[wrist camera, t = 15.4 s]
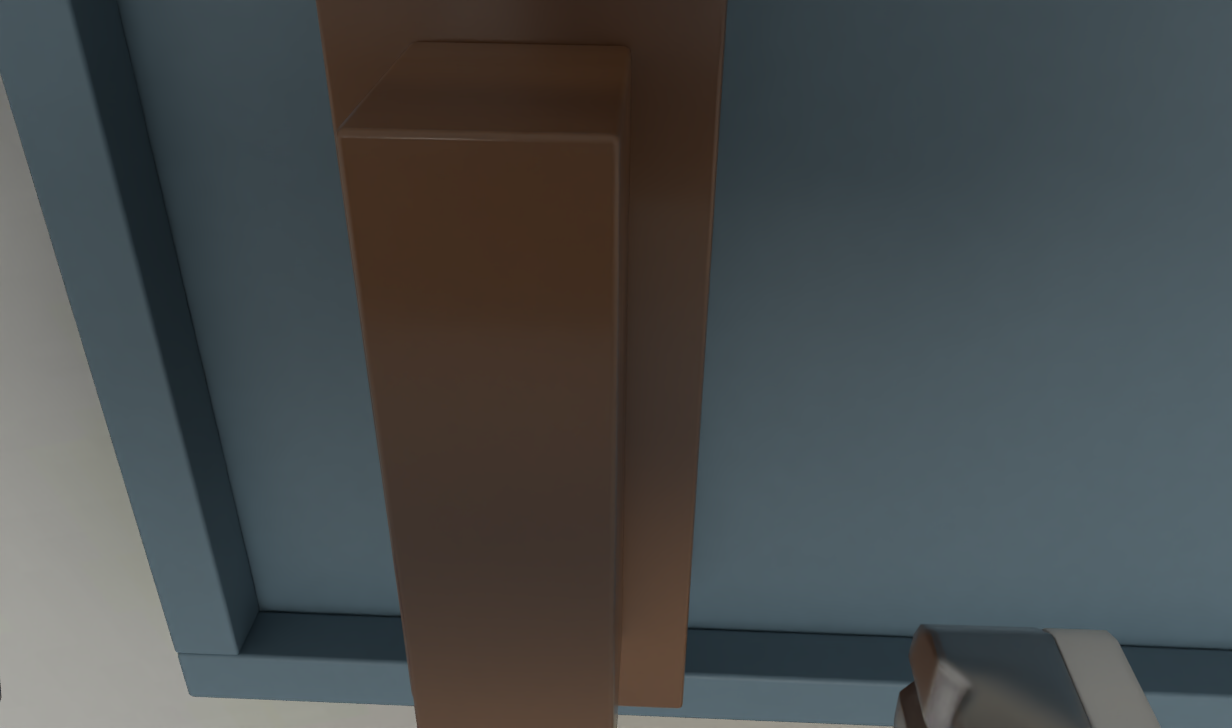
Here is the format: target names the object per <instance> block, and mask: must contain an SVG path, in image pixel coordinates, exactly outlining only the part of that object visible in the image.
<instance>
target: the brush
mask: <svg viewBox="0 0 1232 728" xmlns="http://www.w3.org/2000/svg"><path fill="white" fill-rule="evenodd" d="M315 1H316V8H317V15H318V23H319V30H320V37H321V44H322V51H323V59H324V66H325V73H326V80H327V87H328V95H329V102H330V109H331V116H332V124H333V131H334V138H335V145H336V152H337V160H338V167H339V174H340V181H341V188H342V196H343V203H344V210H345V217H346V224H347V232H348V239H349V246H350V253H351V261H352V268H353V275H354V282H355V289H356V297H357V304H358V311H359V318H360V325H361V333H362V340H363V347H364V354H365V361H366V369H367V376H368V383H369V390H370V397H371V405H372V412H373V419H374V426H375V434H376V441H377V448H378V455H379V462H380V470H381V477H382V484H383V491H384V498H385V506H386V513H387V520H388V527H389V534H390V542H391V549H392V556H393V563H394V571H395V578H396V585H397V592H398V599H399V607H400V614H401V621H402V628H403V635H404V643H405V650H406V657H407V664H408V671H409V679H410V686H411V693H412V696H413V700H414V707H415V715H416V722H417V728H617V719H618V706H631V707H655V708H681V707H682V705H683V694H684V678H685V663H686V647H687V631H688V616H689V600H690V584H691V569H692V553H693V537H694V521H695V506H696V490H697V474H698V459H699V443H700V427H701V412H702V396H703V380H704V365H705V349H706V333H707V317H708V302H709V286H710V270H711V255H712V239H713V223H714V208H715V192H716V176H717V160H718V145H719V129H720V113H721V98H722V82H723V66H724V51H725V35H726V19H727V3H728V0H315Z"/></svg>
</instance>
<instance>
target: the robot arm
mask: <svg viewBox="0 0 1232 728" xmlns="http://www.w3.org/2000/svg"><path fill="white" fill-rule="evenodd" d="M908 657H909V661H910V665H911V669H912V673H913V678H914V681H913V682H912V683H910V684H909V685H908V686H906V687H905V688H904V689H902V690H901V691H900V692H899V696H898V701H897V706H896V711H895V716H894V728H1161V726H1160V724H1159V722H1158V720H1157V718H1156V716H1155V714H1154V712H1153V710H1152V708H1151V706H1150V704H1149V702H1148V700H1147V698H1146V696H1145V694H1144V692H1143V690H1142V688H1141V686H1140V684H1139V682H1138V680H1137V678H1136V676H1135V674H1134V672H1133V670H1132V668H1131V666H1130V664H1129V662H1128V660H1127V658H1126V656H1125V654H1124V652H1123V650H1122V648H1121V646H1120V644H1119V642H1118V640H1117V639H1116V638H1114V637H1113V636H1112V635H1111V634H1110V633H1109V632H1108V631H1107V630H1087V629H1058V628H1043V629H1038V628H1035V627H1003V626H972V625H940V624H920V626H919V627H918V629H917V630H916V632H915V633H914V635H913V639H912V643H911V646H910V650H909V654H908ZM0 700H1V685H0Z"/></svg>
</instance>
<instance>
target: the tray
mask: <svg viewBox="0 0 1232 728" xmlns="http://www.w3.org/2000/svg"><path fill="white" fill-rule="evenodd" d="M0 74H1V77H2V80H3V84H4V87H5V90H6V93H7V97H8V100H9V103H10V107H11V110H12V113H13V117H14V120H15V123H16V126H17V130H18V133H19V136H20V140H21V143H22V146H23V150H24V153H25V156H26V159H27V163H28V166H29V169H30V173H31V176H32V179H33V183H34V186H35V189H36V192H37V196H38V199H39V202H40V206H41V209H42V212H43V216H44V219H45V222H46V225H47V229H48V232H49V235H50V239H51V242H52V245H53V249H54V252H55V255H56V258H57V262H58V265H59V268H60V272H61V275H62V278H63V282H64V285H65V288H66V291H67V295H68V298H69V301H70V305H71V308H72V311H73V315H74V318H75V321H76V324H77V328H78V331H79V334H80V338H81V341H82V344H83V348H84V351H85V354H86V357H87V361H88V364H89V367H90V371H91V374H92V377H93V380H94V384H95V387H96V390H97V394H98V397H99V400H100V404H101V407H102V410H103V413H104V417H105V420H106V423H107V427H108V430H109V433H110V437H111V440H112V443H113V446H114V450H115V453H116V456H117V460H118V463H119V466H120V470H121V473H122V476H123V479H124V483H125V486H126V489H127V493H128V496H129V499H130V503H131V506H132V509H133V512H134V516H135V519H136V522H137V526H138V529H139V532H140V536H141V539H142V542H143V545H144V549H145V552H146V555H147V559H148V562H149V565H150V569H151V572H152V575H153V578H154V582H155V585H156V588H157V592H158V595H159V598H160V602H161V605H162V608H163V611H164V615H165V618H166V621H167V625H168V628H169V631H170V635H171V638H172V641H173V644H174V648H175V651H176V652H178V658H179V662H180V665H181V668H182V672H183V675H184V678H185V681H186V685H187V688H188V691H189V694H190V695H191V696H193V697H216V698H239V699H263V700H286V701H310V702H333V703H357V704H380V705H404V706H414V700H413V696H412V693H411V686H410V679H409V671H408V664H407V657H406V650H405V643H404V635H403V628H402V621H401V614H400V607H399V599H398V592H397V585H396V578H395V571H394V563H393V556H392V549H391V542H390V534H389V527H388V520H387V513H386V506H385V498H384V491H383V484H382V477H381V470H380V462H379V455H378V448H377V441H376V434H375V426H374V419H373V412H372V405H371V397H370V390H369V383H368V376H367V369H366V361H365V354H364V347H363V340H362V333H361V325H360V318H359V311H358V304H357V297H356V289H355V282H354V275H353V268H352V261H351V253H350V246H349V239H348V232H347V224H346V217H345V210H344V203H343V196H342V188H341V181H340V174H339V167H338V160H337V152H336V145H335V138H334V131H333V124H332V116H331V109H330V102H329V95H328V87H327V80H326V73H325V66H324V59H323V51H322V44H321V37H320V30H319V23H318V15H317V8H316V1H315V0H0ZM920 624H940V625H972V626H1003V627H1035V628H1038V629H1043V628H1058V629H1087V630H1107V631H1108V632H1109V633H1110V634H1111V635H1112V636H1113V637H1114V638H1116V639H1117V640H1118V642H1119V644H1120V646H1121V648H1122V650H1123V652H1124V654H1125V656H1126V658H1127V660H1128V662H1129V664H1130V666H1131V668H1132V670H1133V672H1134V674H1135V676H1136V678H1137V680H1138V682H1139V684H1140V686H1141V688H1142V690H1143V692H1144V694H1145V696H1146V698H1147V700H1148V702H1149V704H1150V706H1151V708H1152V710H1153V712H1154V714H1155V716H1156V718H1157V720H1158V722H1159V724H1160V726H1161V728H1232V0H728V3H727V19H726V35H725V51H724V66H723V82H722V98H721V113H720V129H719V145H718V160H717V176H716V192H715V208H714V223H713V239H712V255H711V270H710V286H709V302H708V317H707V333H706V349H705V365H704V380H703V396H702V412H701V427H700V443H699V459H698V474H697V490H696V506H695V521H694V537H693V553H692V569H691V584H690V600H689V616H688V631H687V647H686V663H685V678H684V694H683V705H682V707H681V708H655V707H631V706H618V715H638V716H662V717H685V718H708V719H732V720H755V721H779V722H802V723H826V724H849V725H873V726H894V716H895V711H896V706H897V701H898V696H899V692H900V691H901V690H902V689H904V688H905V687H906V686H908V685H909V684H910V683H912V682H913V681H914V678H913V673H912V669H911V665H910V661H909V657H908V654H909V650H910V646H911V643H912V639H913V635H914V633H915V632H916V630H917V629H918V627H919V626H920Z"/></svg>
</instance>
